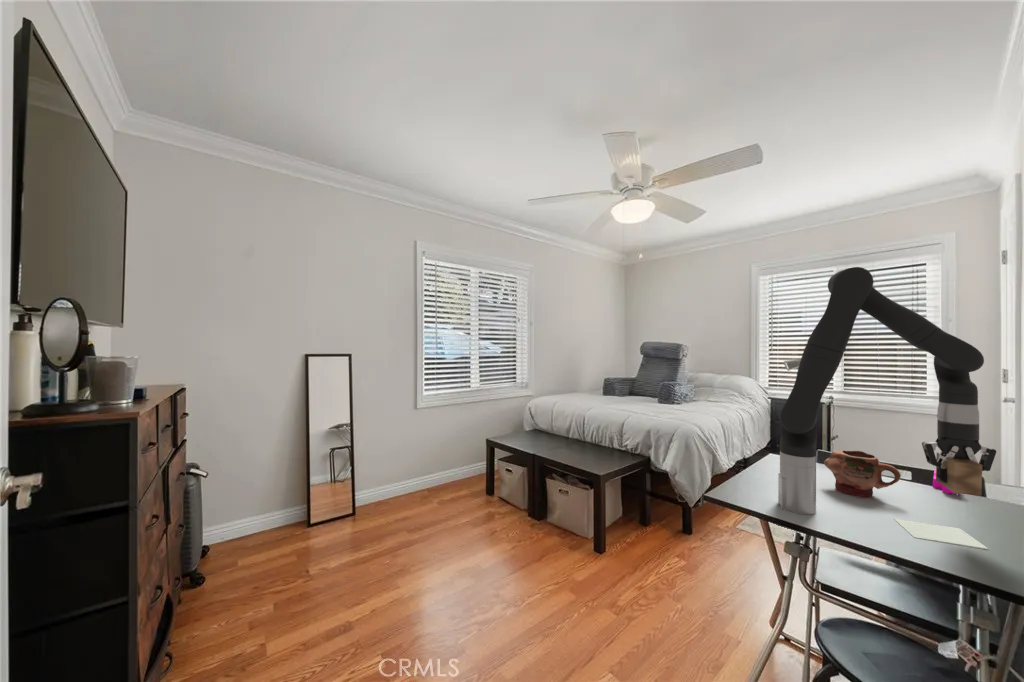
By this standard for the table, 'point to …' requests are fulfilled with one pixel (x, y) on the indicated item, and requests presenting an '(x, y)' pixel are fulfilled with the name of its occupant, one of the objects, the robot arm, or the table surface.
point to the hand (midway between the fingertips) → (957, 483)
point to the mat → (940, 534)
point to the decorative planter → (858, 472)
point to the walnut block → (963, 476)
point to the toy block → (938, 485)
